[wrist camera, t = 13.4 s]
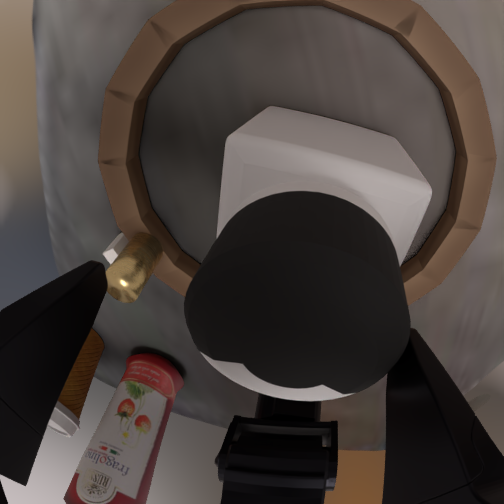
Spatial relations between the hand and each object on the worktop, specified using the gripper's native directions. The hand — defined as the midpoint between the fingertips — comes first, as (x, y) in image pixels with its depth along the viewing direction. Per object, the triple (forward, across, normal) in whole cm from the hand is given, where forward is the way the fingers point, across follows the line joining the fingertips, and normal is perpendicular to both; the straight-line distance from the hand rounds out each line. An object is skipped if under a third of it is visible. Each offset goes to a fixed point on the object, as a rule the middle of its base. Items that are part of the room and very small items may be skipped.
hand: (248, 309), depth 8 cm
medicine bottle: (+11, -2, 0) cm, 11 cm away
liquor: (+11, +9, +24) cm, 28 cm away
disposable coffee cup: (+11, +19, +23) cm, 32 cm away
